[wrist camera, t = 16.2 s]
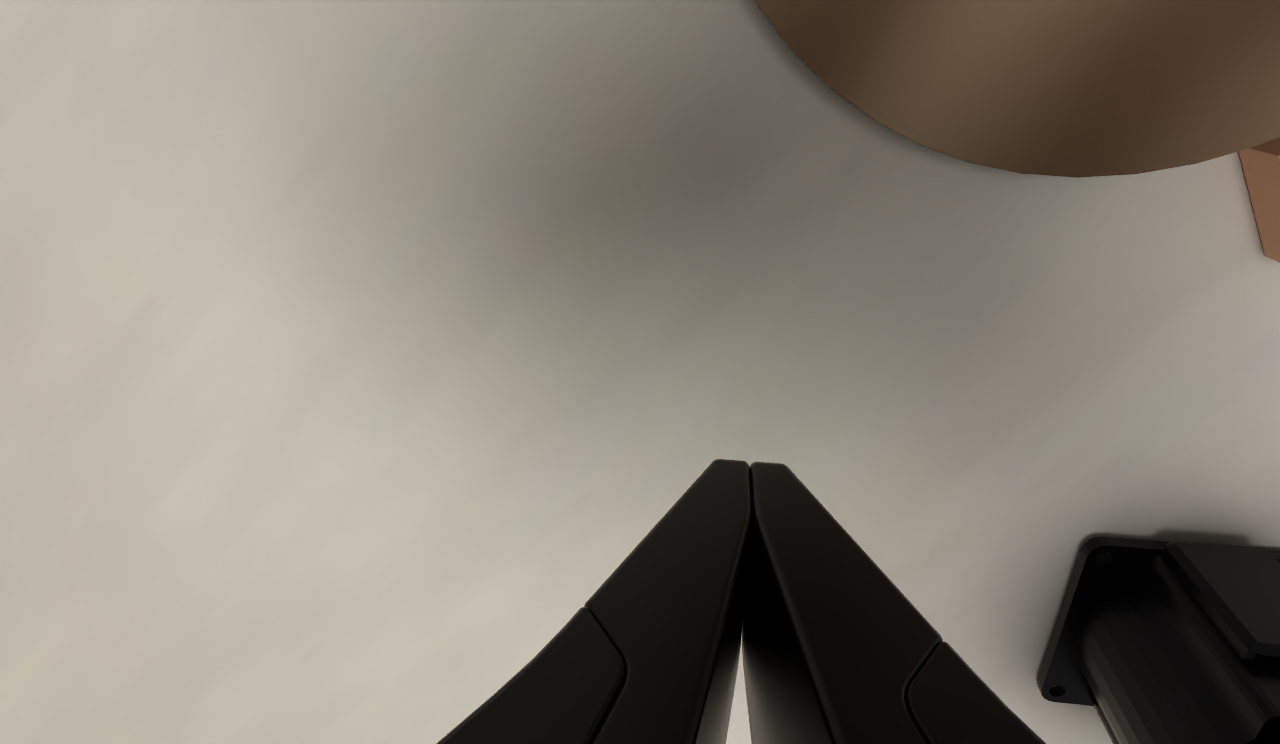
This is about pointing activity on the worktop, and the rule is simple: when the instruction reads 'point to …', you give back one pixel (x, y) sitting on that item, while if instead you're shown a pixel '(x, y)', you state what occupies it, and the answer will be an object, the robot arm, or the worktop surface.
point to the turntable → (1051, 76)
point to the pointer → (1265, 192)
